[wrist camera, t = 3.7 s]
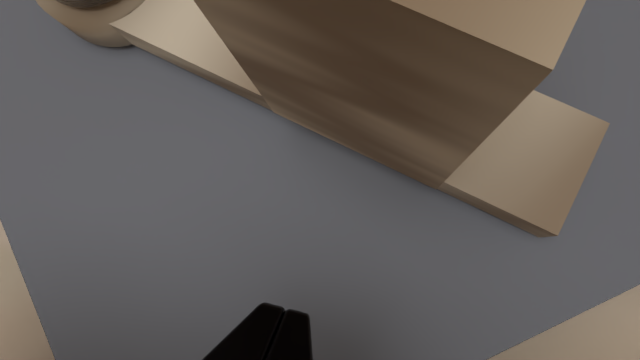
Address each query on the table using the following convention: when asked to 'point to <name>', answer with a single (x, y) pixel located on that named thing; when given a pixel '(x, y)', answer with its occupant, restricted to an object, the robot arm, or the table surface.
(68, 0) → the keeper
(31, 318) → the table surface
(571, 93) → the base board
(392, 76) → the link
